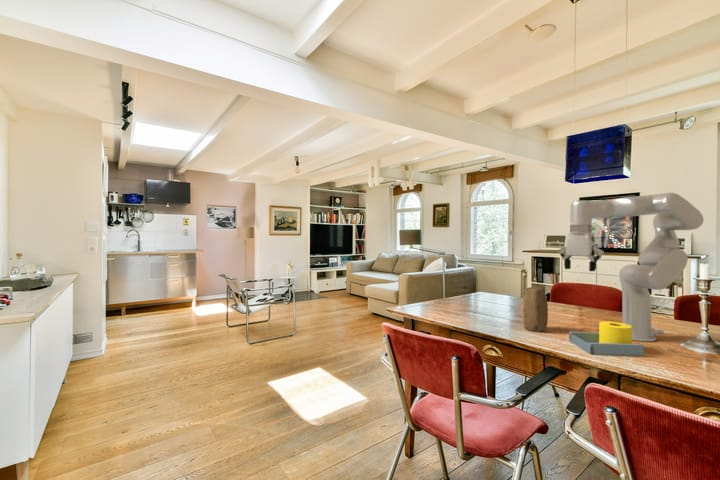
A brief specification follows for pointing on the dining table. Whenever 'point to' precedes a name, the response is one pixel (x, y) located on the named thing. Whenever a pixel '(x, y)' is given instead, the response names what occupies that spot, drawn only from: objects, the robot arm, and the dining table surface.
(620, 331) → the tape roll
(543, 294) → the block
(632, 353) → the grey shallow tray
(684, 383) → the dining table surface
